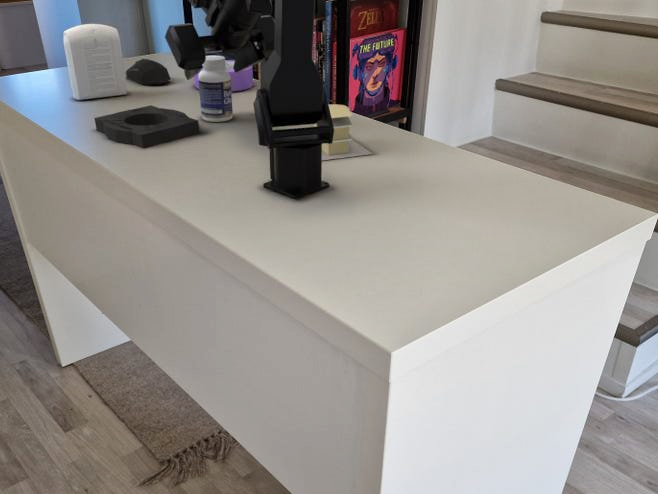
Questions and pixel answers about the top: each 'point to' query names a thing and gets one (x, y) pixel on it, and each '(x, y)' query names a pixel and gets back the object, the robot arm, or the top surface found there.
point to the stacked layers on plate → (341, 136)
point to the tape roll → (235, 77)
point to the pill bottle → (215, 90)
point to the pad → (158, 130)
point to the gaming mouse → (148, 72)
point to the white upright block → (94, 61)
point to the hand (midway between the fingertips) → (211, 73)
